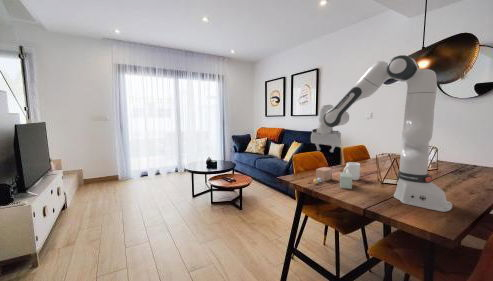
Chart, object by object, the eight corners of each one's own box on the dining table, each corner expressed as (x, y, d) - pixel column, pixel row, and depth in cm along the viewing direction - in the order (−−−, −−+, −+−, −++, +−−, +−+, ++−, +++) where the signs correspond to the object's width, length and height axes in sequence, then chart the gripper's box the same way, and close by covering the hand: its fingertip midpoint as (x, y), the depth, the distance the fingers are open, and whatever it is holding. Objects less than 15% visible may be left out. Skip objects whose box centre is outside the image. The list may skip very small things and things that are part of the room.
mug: (348, 181, 138) (348, 166, 137) (338, 178, 146) (339, 163, 145) (362, 179, 142) (363, 164, 141) (352, 176, 150) (353, 161, 149)
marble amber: (319, 183, 135) (319, 179, 135) (316, 184, 133) (316, 180, 133) (315, 182, 138) (315, 178, 137) (312, 183, 136) (312, 178, 135)
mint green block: (350, 184, 134) (351, 173, 133) (351, 189, 125) (352, 177, 124) (339, 183, 136) (340, 172, 135) (340, 187, 127) (340, 176, 127)
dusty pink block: (331, 178, 145) (332, 168, 144) (324, 181, 139) (324, 171, 138) (323, 176, 149) (323, 166, 149) (315, 179, 144) (316, 169, 143)
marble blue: (322, 182, 138) (322, 177, 137) (320, 183, 136) (320, 178, 135) (318, 181, 140) (318, 176, 140) (315, 182, 138) (316, 177, 138)
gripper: (343, 130, 134) (342, 152, 136) (315, 129, 150) (314, 148, 152) (338, 131, 130) (337, 153, 132) (309, 129, 146) (309, 149, 148)
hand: (324, 151), depth 142 cm, fingers open, 8 cm apart
